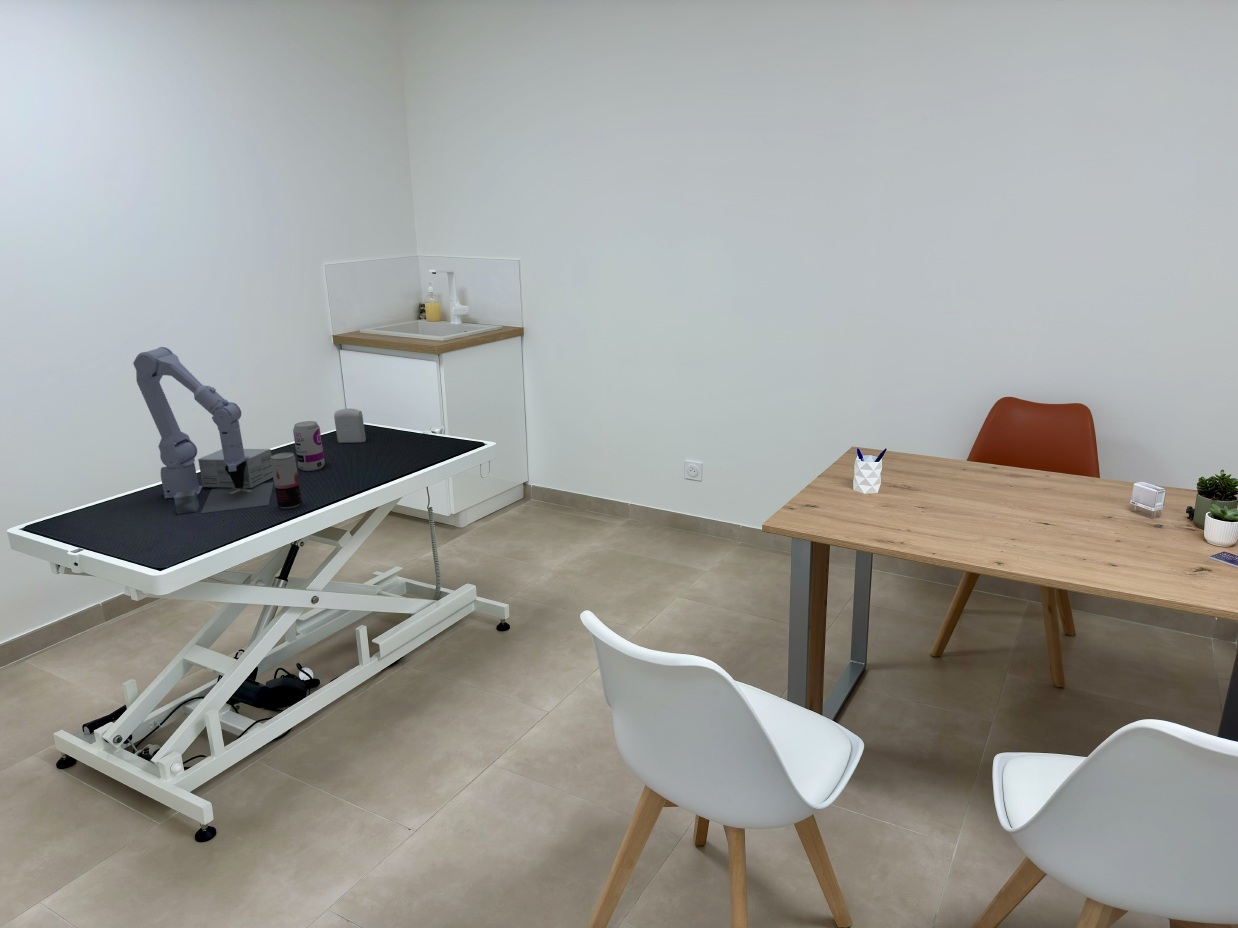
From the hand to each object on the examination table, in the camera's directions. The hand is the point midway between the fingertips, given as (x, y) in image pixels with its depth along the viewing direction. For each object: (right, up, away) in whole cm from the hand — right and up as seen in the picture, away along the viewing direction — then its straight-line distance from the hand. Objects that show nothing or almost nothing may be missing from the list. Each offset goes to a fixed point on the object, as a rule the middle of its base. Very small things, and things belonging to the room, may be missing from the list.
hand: (239, 487), depth 255 cm
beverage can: (+20, -5, -11) cm, 23 cm away
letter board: (+1, -3, -3) cm, 4 cm away
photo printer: (+17, +15, +53) cm, 57 cm away
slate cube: (-9, -6, -12) cm, 17 cm away
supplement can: (+13, +6, +24) cm, 28 cm away
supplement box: (-5, +1, +11) cm, 12 cm away
